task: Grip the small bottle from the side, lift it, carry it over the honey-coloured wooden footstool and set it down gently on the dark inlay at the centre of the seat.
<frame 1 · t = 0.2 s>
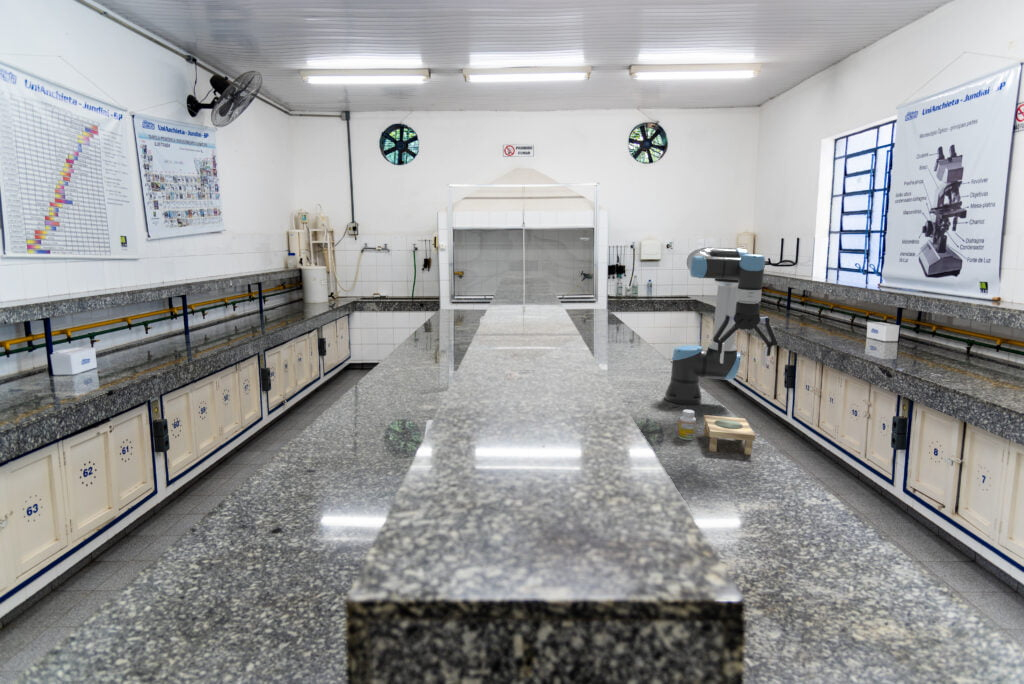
hand: (742, 363, 208), 27 cm above the table, fingers open, 13 cm apart
supplement bottle: (686, 438, 215), on the table
footstool: (726, 444, 210), on the table
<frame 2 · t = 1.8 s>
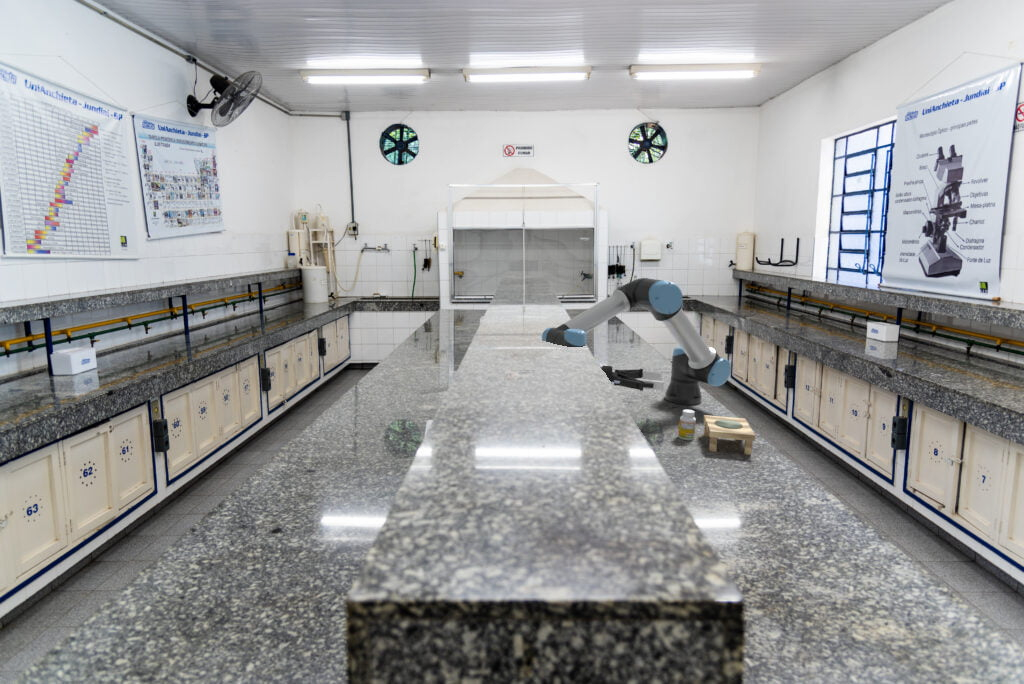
hand: (662, 381, 213), 20 cm above the table, fingers open, 13 cm apart
nothing on the table moved.
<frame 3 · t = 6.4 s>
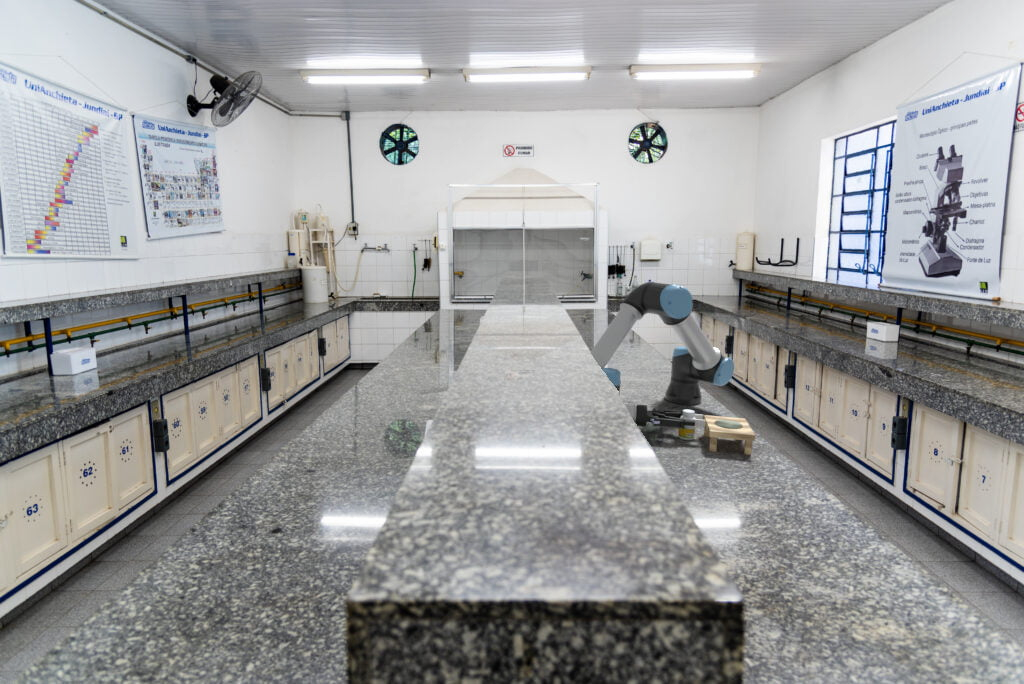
hand: (703, 421, 213), 7 cm above the table, fingers closed on supplement bottle, 5 cm apart
supplement bottle: (686, 438, 215), on the table, touching gripper
when the fingers open (15 cm above the table, at t = 10.3 s): supplement bottle drops 1 cm, resting on footstool.
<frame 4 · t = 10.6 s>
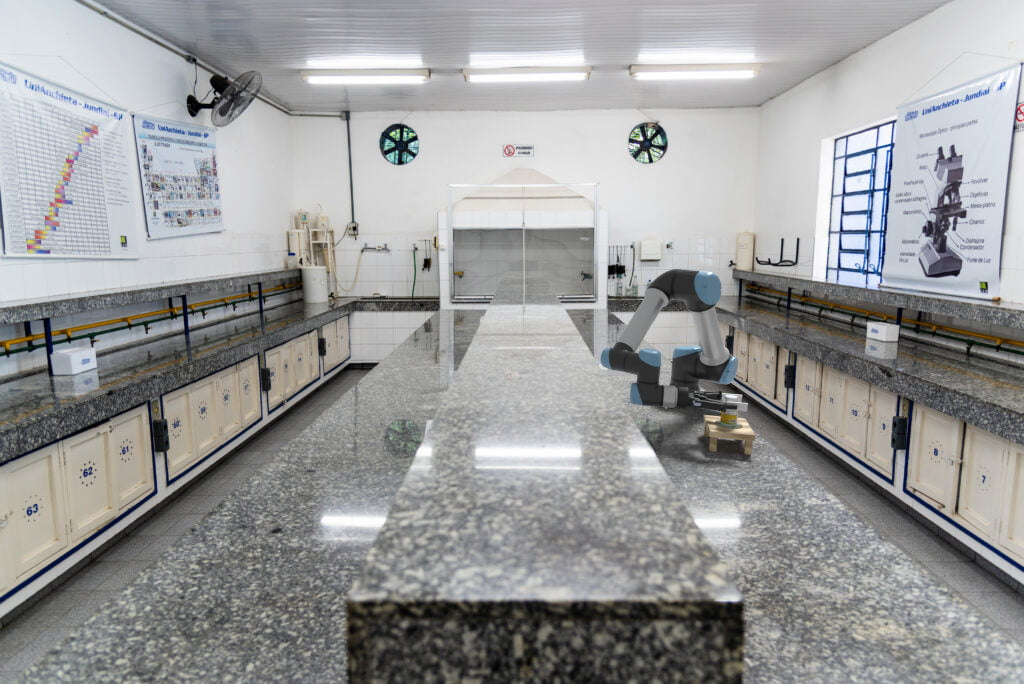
hand: (744, 403, 206), 15 cm above the table, fingers open, 10 cm apart
supplement bottle: (728, 424, 208), point 7 cm above the table, touching footstool
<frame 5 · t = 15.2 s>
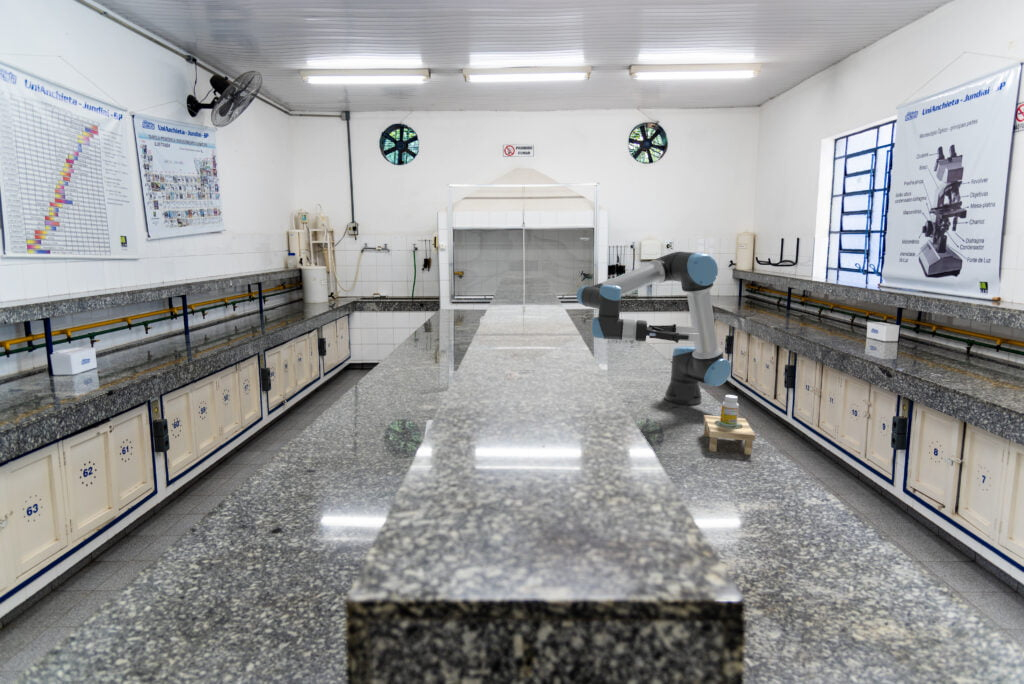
hand: (696, 334, 218), 35 cm above the table, fingers open, 13 cm apart
nothing on the table moved.
at the end: supplement bottle inside the target area on the footstool (0.0 cm from its centre), point 7.0 cm above the footstool's base; supplement bottle tilted 0°; the gripper is holding nothing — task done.
